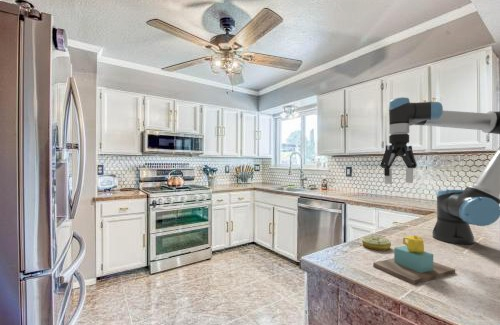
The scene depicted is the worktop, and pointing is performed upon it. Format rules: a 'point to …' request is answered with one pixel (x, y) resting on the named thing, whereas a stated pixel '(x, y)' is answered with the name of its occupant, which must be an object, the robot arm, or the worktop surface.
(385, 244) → the decorated donut
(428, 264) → the base brick
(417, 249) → the teapot
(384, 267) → the walnut board
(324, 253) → the worktop surface
